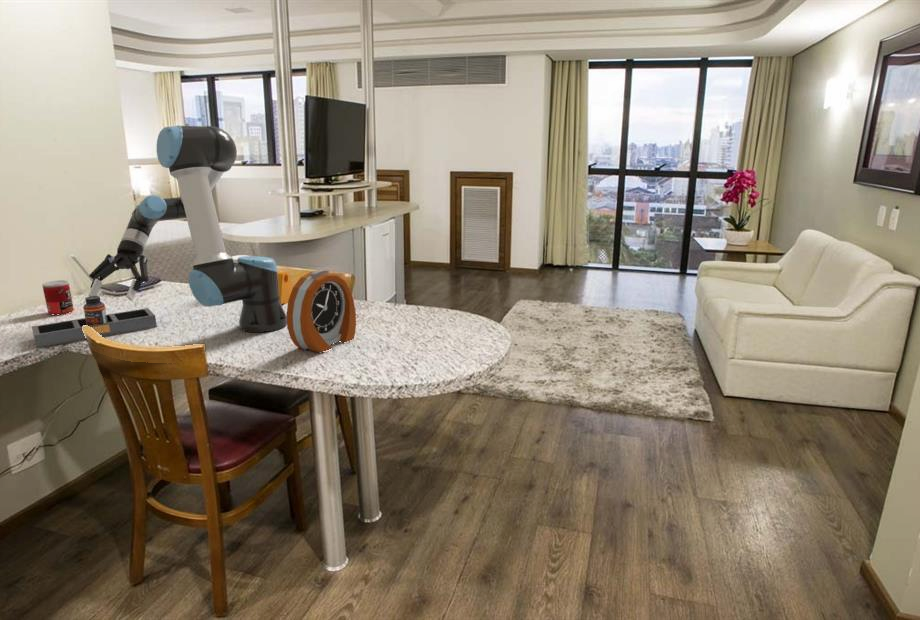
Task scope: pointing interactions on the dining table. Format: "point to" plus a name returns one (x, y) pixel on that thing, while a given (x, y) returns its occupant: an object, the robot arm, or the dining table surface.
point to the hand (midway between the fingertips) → (110, 298)
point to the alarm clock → (320, 311)
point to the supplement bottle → (94, 311)
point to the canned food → (58, 297)
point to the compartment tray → (73, 328)
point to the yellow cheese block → (284, 286)
